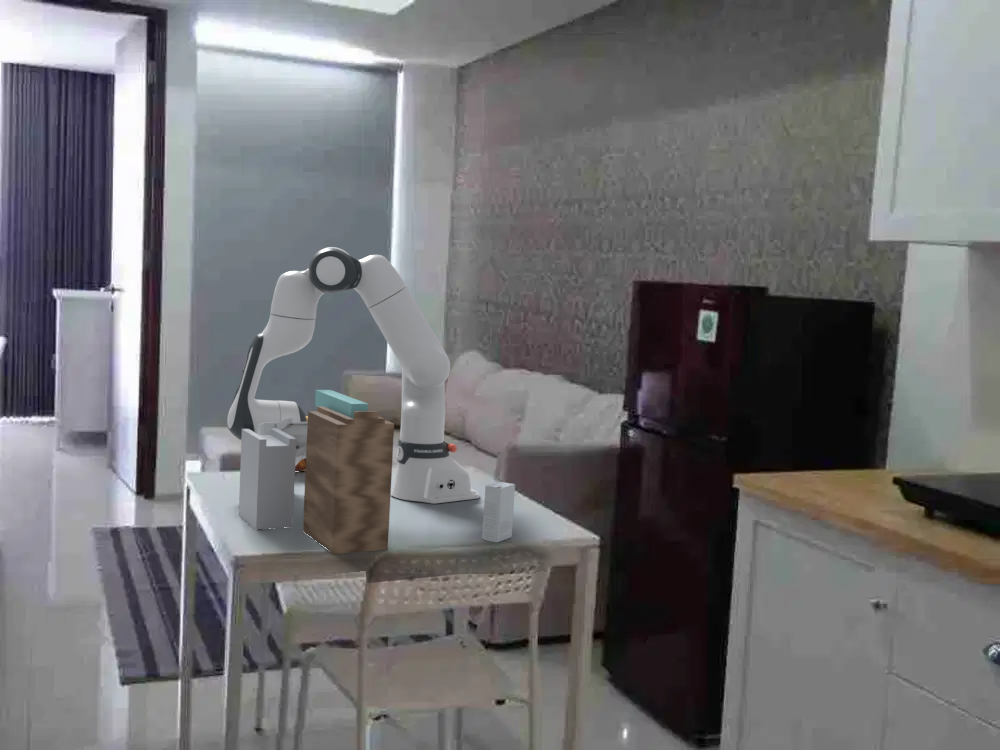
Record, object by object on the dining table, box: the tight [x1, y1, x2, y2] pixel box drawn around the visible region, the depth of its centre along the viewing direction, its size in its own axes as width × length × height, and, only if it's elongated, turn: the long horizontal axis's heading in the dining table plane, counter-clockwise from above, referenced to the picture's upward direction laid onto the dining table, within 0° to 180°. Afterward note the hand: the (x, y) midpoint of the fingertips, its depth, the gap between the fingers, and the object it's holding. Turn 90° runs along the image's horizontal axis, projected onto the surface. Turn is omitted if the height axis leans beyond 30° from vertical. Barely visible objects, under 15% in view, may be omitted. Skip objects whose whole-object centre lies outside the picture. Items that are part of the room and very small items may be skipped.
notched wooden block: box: [302, 406, 395, 555], centre depth 214 cm, size 12×18×28 cm, turn 29°
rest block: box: [238, 428, 296, 530], centre depth 226 cm, size 8×14×20 cm, turn 29°
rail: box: [314, 389, 369, 419], centre depth 218 cm, size 4×22×4 cm, turn 29°
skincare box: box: [481, 481, 516, 543], centre depth 224 cm, size 6×4×12 cm
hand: (309, 420), depth 235 cm, fingers open, 8 cm apart
